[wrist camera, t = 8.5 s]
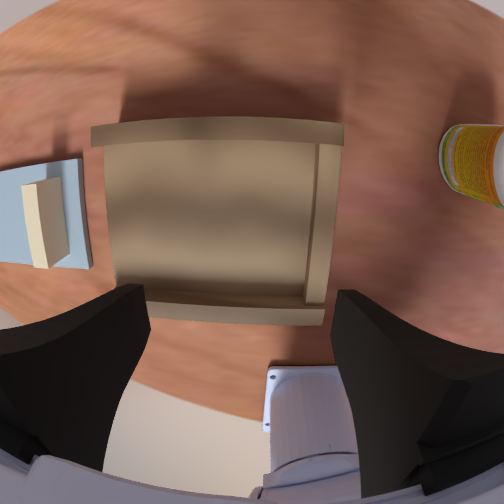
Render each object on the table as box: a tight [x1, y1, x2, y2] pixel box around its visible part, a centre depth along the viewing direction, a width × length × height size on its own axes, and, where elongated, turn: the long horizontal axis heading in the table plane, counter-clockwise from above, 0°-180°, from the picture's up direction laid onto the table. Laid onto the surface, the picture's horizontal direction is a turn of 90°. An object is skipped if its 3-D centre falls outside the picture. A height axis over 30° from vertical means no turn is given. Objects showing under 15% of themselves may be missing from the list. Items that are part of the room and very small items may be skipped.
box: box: [91, 116, 344, 326], centre depth 18 cm, size 12×14×4 cm
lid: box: [0, 158, 93, 269], centre depth 18 cm, size 8×12×4 cm
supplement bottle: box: [439, 124, 504, 210], centre depth 13 cm, size 5×5×10 cm
